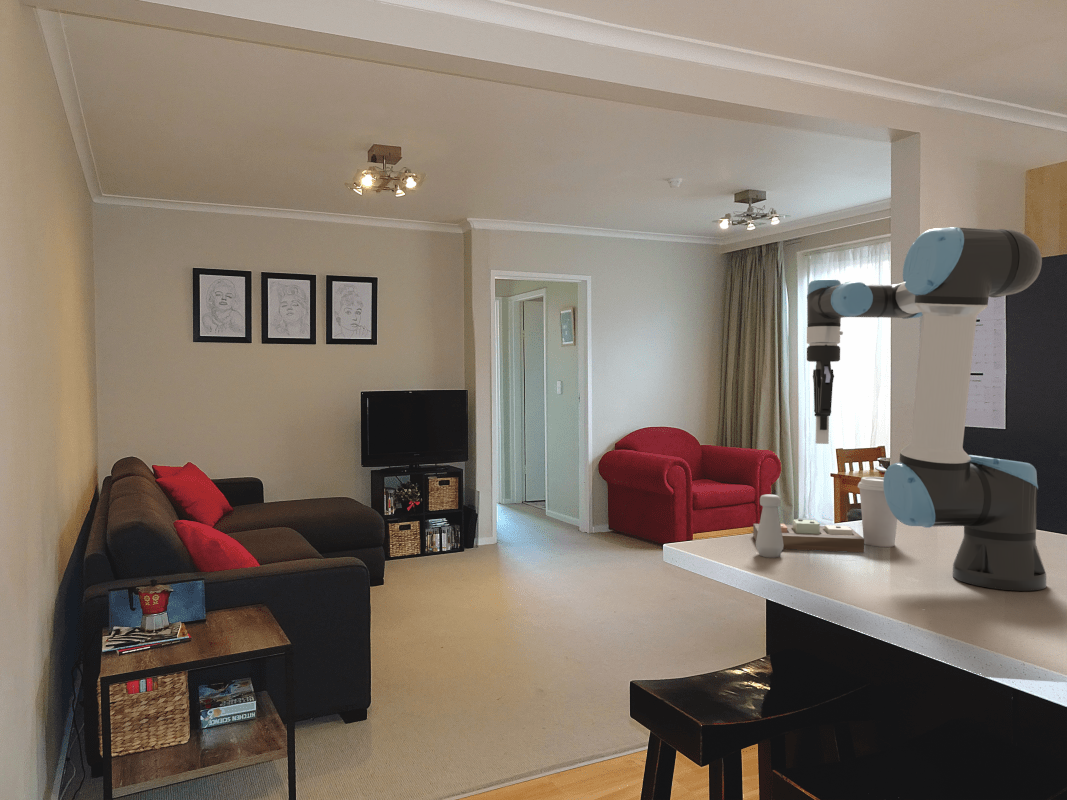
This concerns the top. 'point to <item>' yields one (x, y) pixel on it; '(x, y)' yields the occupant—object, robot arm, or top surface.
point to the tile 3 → (783, 528)
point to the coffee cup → (876, 513)
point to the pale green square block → (806, 526)
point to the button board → (819, 540)
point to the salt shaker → (769, 528)
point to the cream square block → (838, 530)
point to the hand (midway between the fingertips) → (822, 443)
